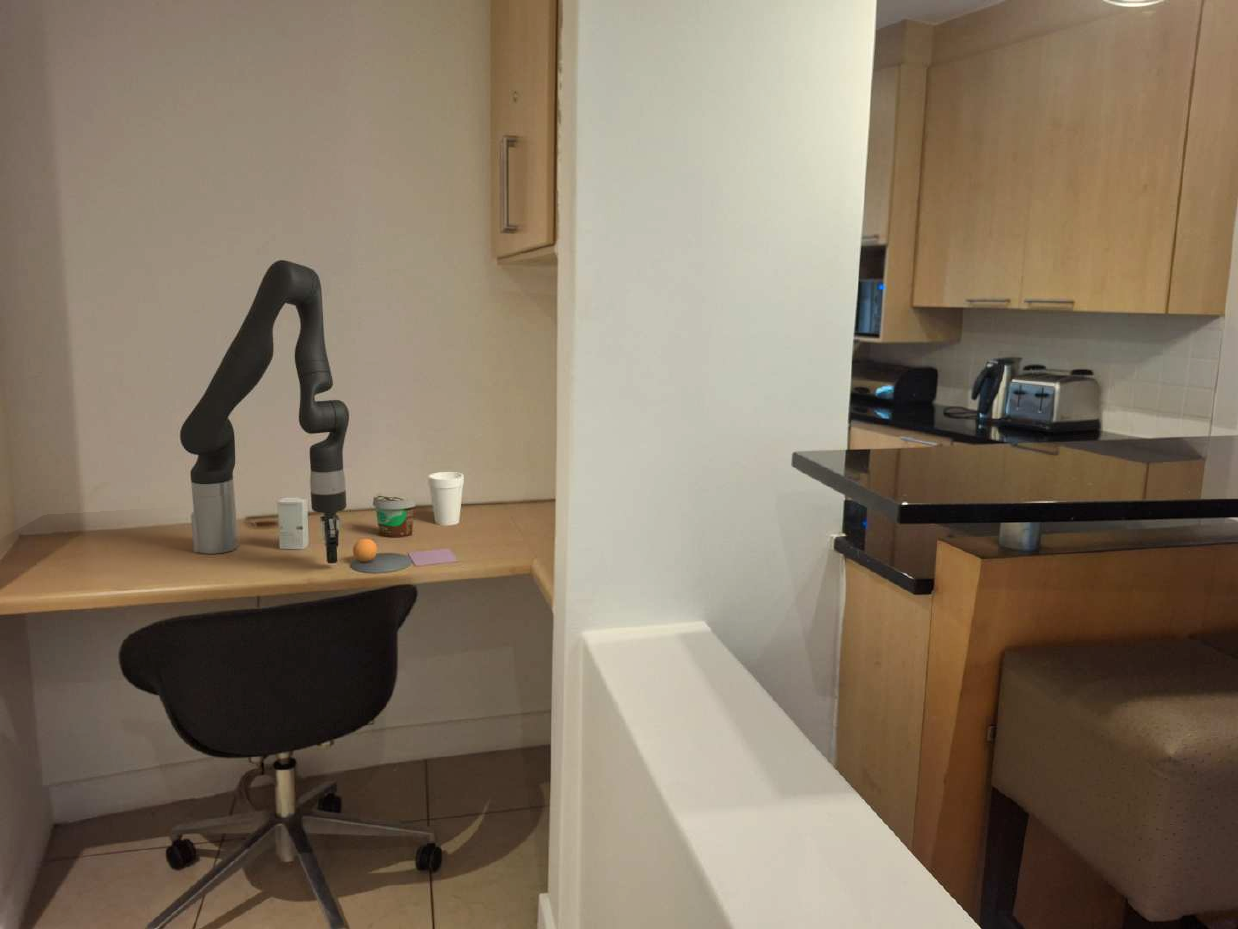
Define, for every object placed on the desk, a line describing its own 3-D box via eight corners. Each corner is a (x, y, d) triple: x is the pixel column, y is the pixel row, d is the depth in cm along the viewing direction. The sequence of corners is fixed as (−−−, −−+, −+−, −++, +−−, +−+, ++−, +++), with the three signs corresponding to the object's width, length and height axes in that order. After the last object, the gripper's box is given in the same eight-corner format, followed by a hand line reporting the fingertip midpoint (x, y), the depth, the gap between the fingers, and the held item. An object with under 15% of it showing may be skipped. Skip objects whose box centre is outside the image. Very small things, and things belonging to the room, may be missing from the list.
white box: (279, 549, 216) (275, 501, 214) (285, 544, 221) (281, 496, 218) (304, 549, 216) (301, 501, 214) (310, 544, 221) (307, 497, 218)
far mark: (415, 566, 206) (415, 565, 206) (408, 553, 215) (408, 552, 215) (458, 561, 210) (458, 560, 210) (449, 549, 219) (449, 548, 219)
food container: (363, 534, 229) (361, 497, 227) (380, 528, 235) (378, 492, 233) (400, 542, 224) (399, 503, 222) (416, 535, 229) (415, 498, 227)
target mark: (354, 576, 199) (354, 575, 199) (347, 557, 211) (347, 556, 211) (417, 569, 204) (417, 568, 204) (406, 551, 217) (406, 550, 217)
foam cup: (431, 517, 246) (430, 471, 243) (465, 517, 247) (464, 471, 244) (428, 527, 237) (426, 480, 234) (463, 526, 238) (462, 479, 235)
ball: (371, 531, 208) (385, 547, 210) (355, 537, 210) (370, 553, 213) (359, 547, 203) (375, 563, 206) (344, 552, 206) (359, 569, 208)
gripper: (348, 494, 195) (352, 569, 199) (342, 481, 207) (346, 552, 211) (312, 497, 192) (317, 573, 196) (308, 483, 204) (312, 555, 208)
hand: (332, 562), depth 203 cm, fingers closed
